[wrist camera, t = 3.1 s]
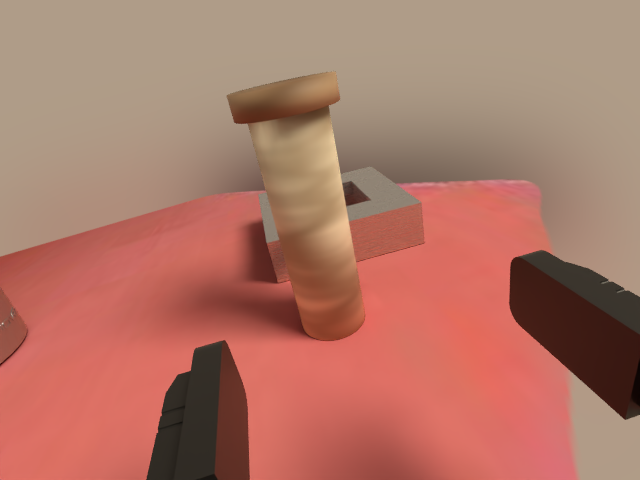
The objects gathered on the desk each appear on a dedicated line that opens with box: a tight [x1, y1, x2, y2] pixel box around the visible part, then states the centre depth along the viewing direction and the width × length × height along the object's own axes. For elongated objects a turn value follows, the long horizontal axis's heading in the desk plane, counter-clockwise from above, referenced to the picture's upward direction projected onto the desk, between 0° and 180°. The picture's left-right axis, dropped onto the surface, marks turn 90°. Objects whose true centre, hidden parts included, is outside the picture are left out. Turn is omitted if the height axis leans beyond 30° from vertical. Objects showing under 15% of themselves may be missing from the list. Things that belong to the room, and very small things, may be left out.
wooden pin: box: [227, 72, 365, 341], centre depth 21 cm, size 5×5×14 cm
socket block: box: [258, 167, 424, 283], centre depth 34 cm, size 12×12×4 cm
